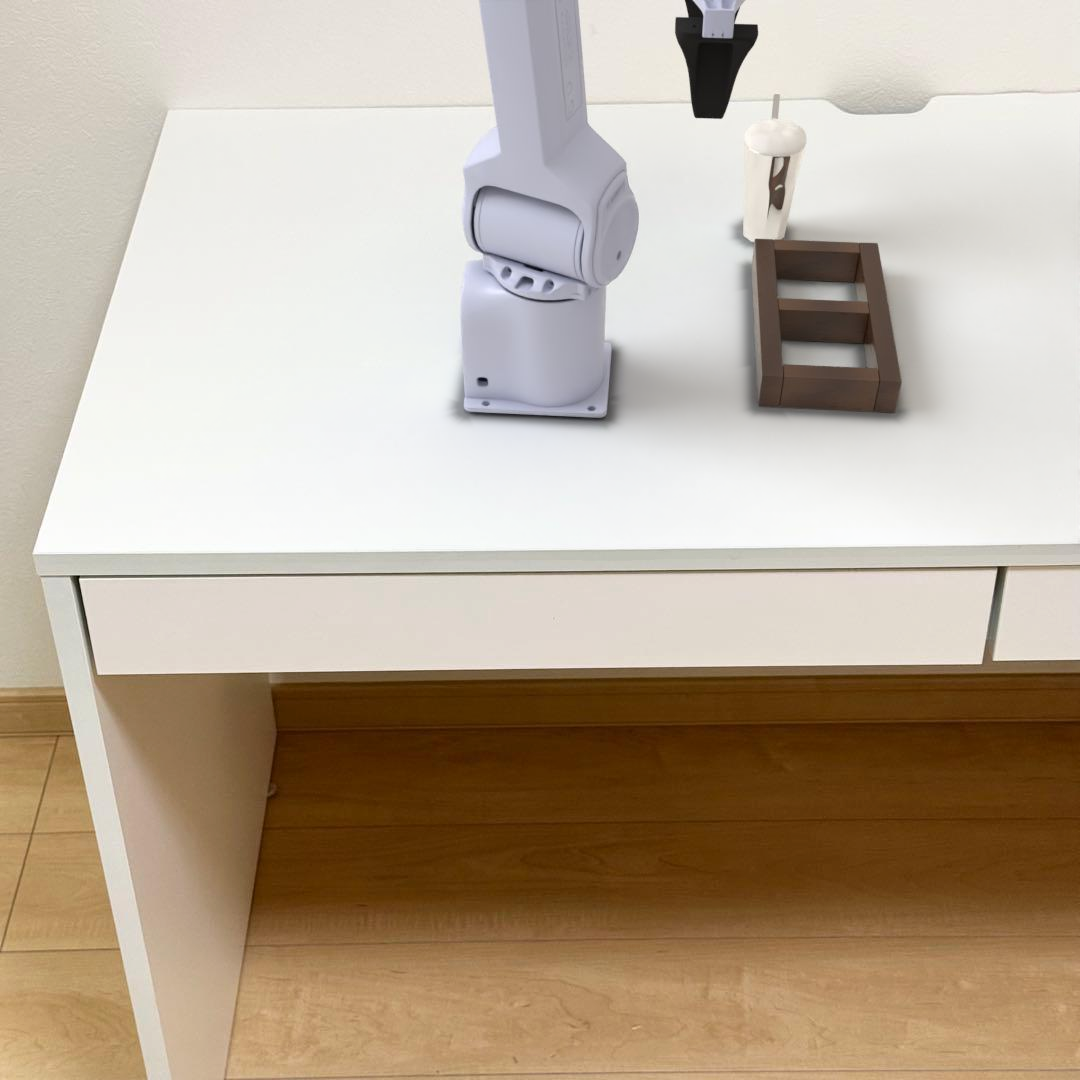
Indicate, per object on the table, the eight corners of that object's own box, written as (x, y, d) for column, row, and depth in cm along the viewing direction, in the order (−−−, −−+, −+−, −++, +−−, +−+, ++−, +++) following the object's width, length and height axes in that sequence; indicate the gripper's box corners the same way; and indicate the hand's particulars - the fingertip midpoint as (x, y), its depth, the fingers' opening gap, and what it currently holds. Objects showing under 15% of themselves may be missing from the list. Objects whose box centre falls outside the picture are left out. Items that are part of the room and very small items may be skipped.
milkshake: (791, 214, 108) (808, 95, 101) (793, 251, 104) (811, 130, 97) (733, 211, 108) (746, 92, 101) (734, 248, 104) (747, 127, 97)
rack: (758, 406, 90) (762, 375, 89) (751, 268, 102) (754, 238, 100) (895, 413, 90) (902, 381, 88) (872, 272, 102) (877, 242, 100)
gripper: (789, -58, 85) (766, 141, 95) (780, -137, 96) (759, 49, 105) (677, -61, 86) (665, 138, 95) (679, -139, 96) (668, 46, 106)
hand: (708, 91), depth 100 cm, fingers open, 7 cm apart
